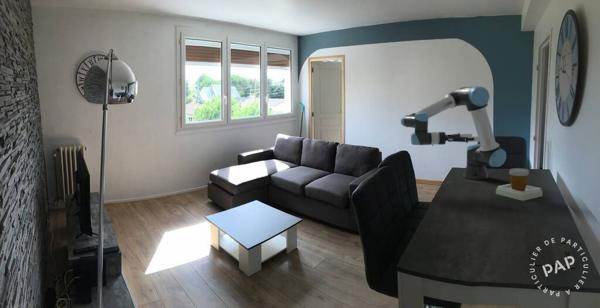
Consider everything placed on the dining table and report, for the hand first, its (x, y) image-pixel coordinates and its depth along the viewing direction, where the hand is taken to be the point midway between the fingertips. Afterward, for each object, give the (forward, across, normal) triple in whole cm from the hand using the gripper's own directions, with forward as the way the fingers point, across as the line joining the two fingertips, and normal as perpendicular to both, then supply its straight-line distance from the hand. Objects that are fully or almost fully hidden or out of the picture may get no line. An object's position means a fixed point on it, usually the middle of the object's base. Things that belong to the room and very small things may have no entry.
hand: (475, 137), depth 206 cm
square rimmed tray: (+20, +11, -32) cm, 39 cm away
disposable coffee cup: (+19, +14, -29) cm, 37 cm away
